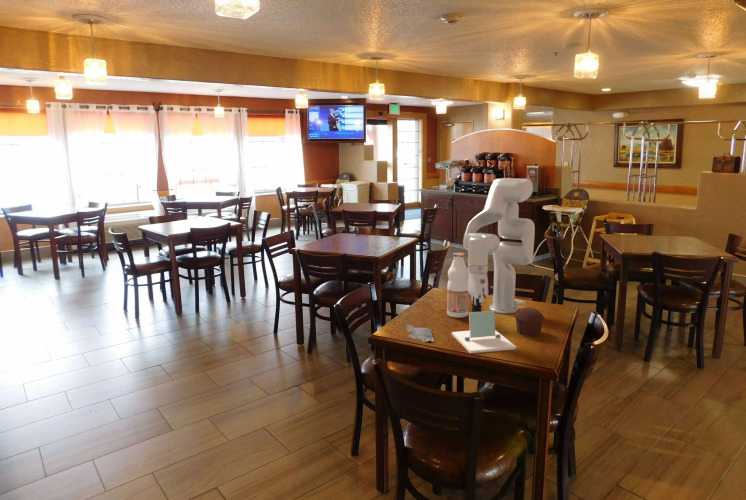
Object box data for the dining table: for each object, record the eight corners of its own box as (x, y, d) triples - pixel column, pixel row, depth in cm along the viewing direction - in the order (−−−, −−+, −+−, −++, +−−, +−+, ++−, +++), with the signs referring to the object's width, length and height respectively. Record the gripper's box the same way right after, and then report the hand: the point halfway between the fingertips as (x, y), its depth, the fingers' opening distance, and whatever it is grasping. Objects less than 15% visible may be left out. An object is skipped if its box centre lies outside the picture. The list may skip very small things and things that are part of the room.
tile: (493, 310, 203) (494, 311, 202) (494, 335, 203) (495, 335, 202) (468, 312, 201) (469, 312, 200) (469, 337, 201) (470, 337, 200)
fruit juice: (443, 316, 232) (444, 254, 227) (451, 310, 240) (452, 250, 235) (463, 319, 228) (464, 256, 222) (471, 313, 235) (472, 252, 230)
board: (493, 330, 213) (493, 325, 213) (516, 349, 194) (516, 343, 193) (451, 334, 210) (451, 329, 209) (470, 353, 190) (470, 347, 190)
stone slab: (405, 324, 219) (428, 323, 219) (405, 329, 219) (428, 327, 219) (409, 342, 201) (435, 340, 201) (409, 346, 202) (435, 344, 202)
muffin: (508, 329, 214) (509, 306, 212) (530, 326, 218) (531, 303, 216) (527, 339, 203) (528, 314, 201) (550, 335, 208) (551, 311, 206)
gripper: (494, 272, 196) (493, 318, 200) (479, 263, 211) (478, 307, 214) (475, 273, 195) (474, 320, 198) (461, 264, 209) (460, 308, 213)
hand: (476, 313), depth 206 cm, fingers closed
